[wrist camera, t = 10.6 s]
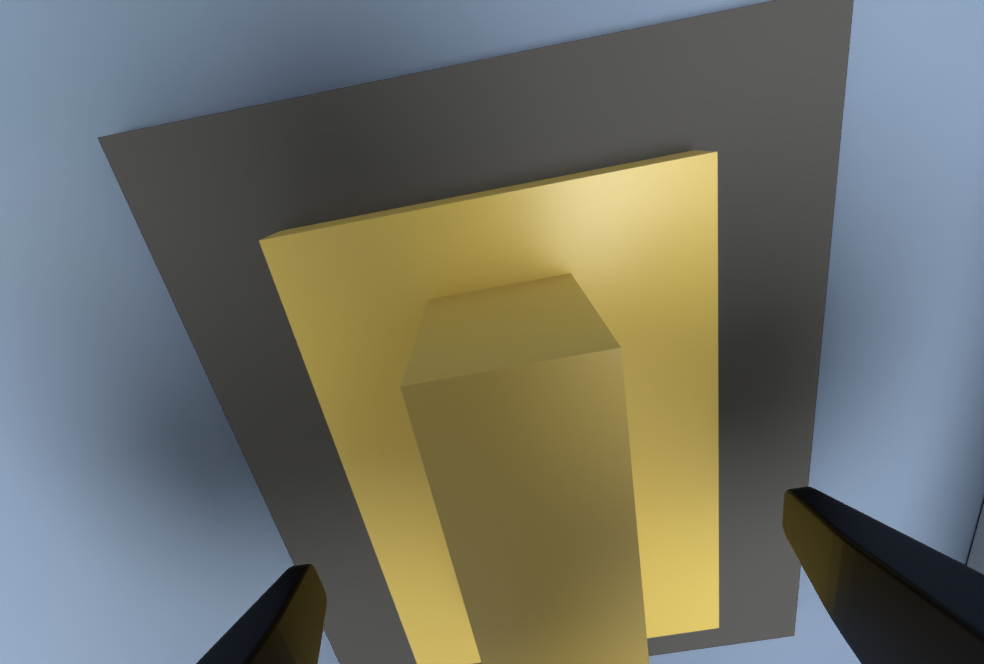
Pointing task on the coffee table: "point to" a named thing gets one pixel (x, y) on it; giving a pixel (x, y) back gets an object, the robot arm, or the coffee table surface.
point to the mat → (501, 163)
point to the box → (978, 547)
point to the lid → (527, 406)
